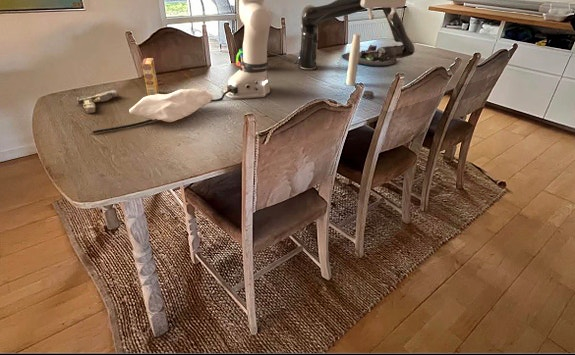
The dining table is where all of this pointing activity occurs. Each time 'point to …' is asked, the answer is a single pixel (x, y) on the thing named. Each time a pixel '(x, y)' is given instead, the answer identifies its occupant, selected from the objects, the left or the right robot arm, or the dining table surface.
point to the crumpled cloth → (171, 104)
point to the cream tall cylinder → (353, 60)
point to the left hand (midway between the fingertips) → (380, 18)
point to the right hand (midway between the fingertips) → (366, 57)
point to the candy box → (150, 76)
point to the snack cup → (240, 55)
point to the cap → (368, 94)
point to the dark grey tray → (369, 60)
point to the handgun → (95, 100)
